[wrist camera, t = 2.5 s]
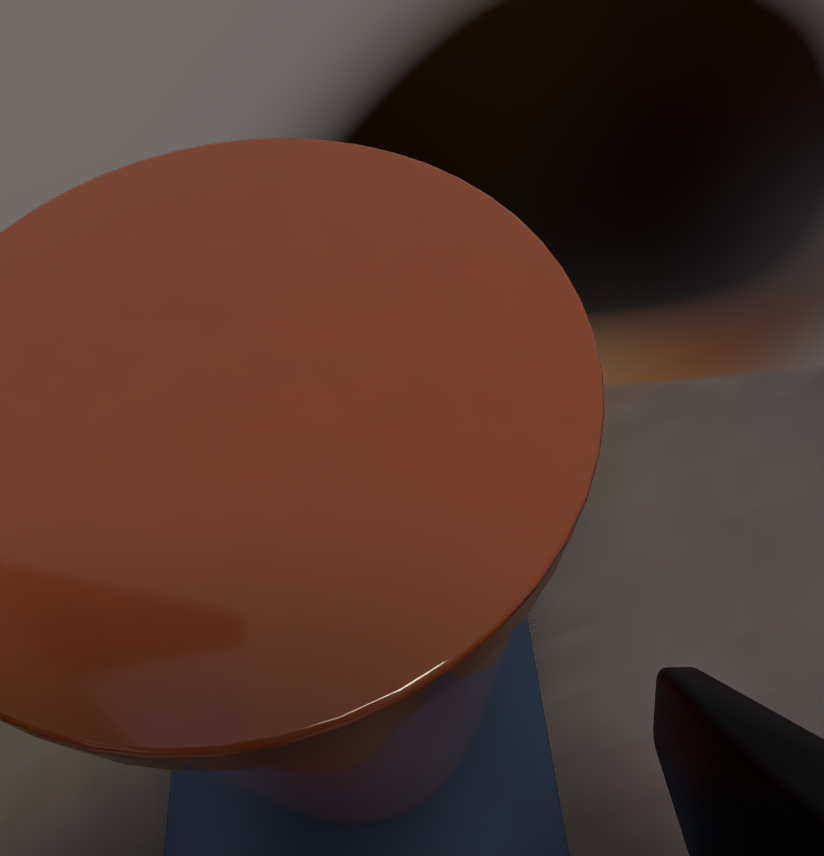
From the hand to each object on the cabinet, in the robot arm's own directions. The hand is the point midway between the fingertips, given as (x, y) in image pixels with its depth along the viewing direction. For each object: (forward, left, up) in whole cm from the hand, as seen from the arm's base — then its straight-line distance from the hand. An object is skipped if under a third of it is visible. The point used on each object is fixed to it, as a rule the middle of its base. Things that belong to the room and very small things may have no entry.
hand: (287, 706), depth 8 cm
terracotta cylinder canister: (+2, 0, -9) cm, 10 cm away
